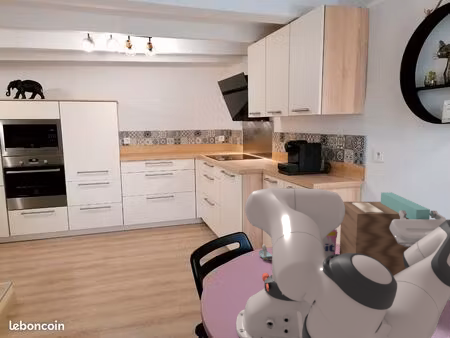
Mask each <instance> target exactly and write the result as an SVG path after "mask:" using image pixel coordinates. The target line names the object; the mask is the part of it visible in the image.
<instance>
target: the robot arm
mask: <svg viewBox="0 0 450 338" xmlns="http://www.w3.org/2000/svg"><path fill="white" fill-rule="evenodd" d="M343 202H344V200H343V198H342V197H341V196H340V195H339V194H338V193H337V192H335V191H331V190H327V189H322V188H286V187H285V188H281V187H276V188H275V187H267V188H263V189H258V190H257V189H256V190H253V191H252V192H251V193H249V195H248V197H247V199H246V201H245V205H244V211H245V216H246V219H247V220H248V222H249V224H251V225H252V226H253V227H255V228H258V229H260V230H261V231H263V232H265V233H266V234H267V235H268V236H269V237H270V238H271V239H270V240H271V255H272V257H271V258H272V260H271V262H272V263H271V265H272V267H271V268H272V269H271V270H272V271H271V275H269V273H267V272H263V273H262V276H261V278H262V282H263V283H264V287H263V288H262V289H261V290H259V291H258V292H256V293H255V294H252V295H251V296H249V298H248V299H247V301H246V303H245V306H244V309H242V310H240V312H239V313H238V314H237V317H236V321H235V329H236V330H235V331H236V333H237V336H238V337H239V338H432V337H433V336H434V334H435V332H436V329H437V326H438V323H439V320H440V317H441V316H442V313H443V311H444V309H445V307H446V306H447V303H448V301H449V302H450V219H446V217H445V216H443V215H441V214H440V213H438V211H437V210H430V218H432V219H430V218H429V219H406V215H407V213H406V211H403V210H402V211H401V210H400V211H399V216H400V219H394V220H393V221H392V222H391V224H390V231H391V233H392V234H393V236H394V237H395V239H396V241H397V243H398V244H400V245H403V246H404V247H409V248H408V249H407V250H406V251H404V253H403V262H404V266H405V268H406V269H404V270H402V271H401V272H399V273H397V274H395V275H394V276H393V275H392V273H391V271H390V270H389V269H388V268H387V267H386V266H385V265H384V264H382V263H381V262H380V261H378V260H376V259H375V258H373V257H371V256H368V255H365V254H361V253H344V254H340V253H335V254H333V255H330V256H328V257H327V258H326V256H325V250H324V246H323V241H322V240H323V239H324V238H325V237H326V236H327V235H328V234H329V233H330V232H331V231H333V230H335V229H337V228H339V227H341V223H342V221H343V219H344V216H345V206H344V203H343ZM329 258H332V259H329Z"/></svg>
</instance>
